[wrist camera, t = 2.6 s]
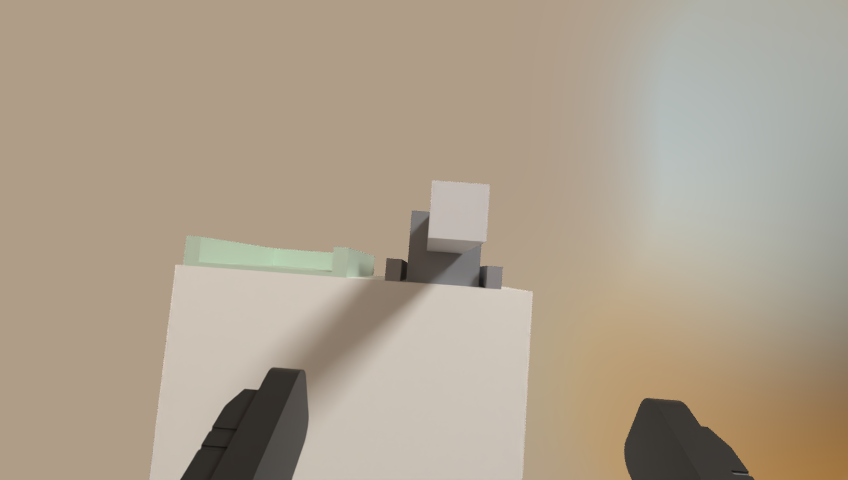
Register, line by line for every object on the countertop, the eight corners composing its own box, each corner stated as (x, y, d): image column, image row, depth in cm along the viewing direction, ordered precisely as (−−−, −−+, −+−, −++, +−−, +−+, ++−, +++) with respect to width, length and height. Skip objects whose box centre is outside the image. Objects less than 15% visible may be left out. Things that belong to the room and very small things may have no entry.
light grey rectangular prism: (511, 296, 18) (518, 181, 18) (394, 287, 18) (404, 172, 18) (464, 283, 38) (468, 230, 39) (411, 279, 38) (415, 226, 39)
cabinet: (503, 821, 25) (534, 261, 28) (111, 787, 25) (179, 235, 28) (472, 607, 41) (494, 265, 44) (232, 587, 41) (268, 248, 44)
